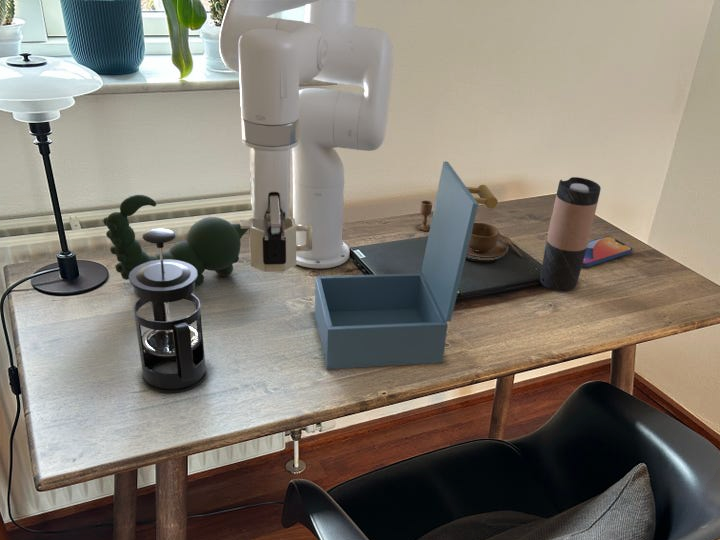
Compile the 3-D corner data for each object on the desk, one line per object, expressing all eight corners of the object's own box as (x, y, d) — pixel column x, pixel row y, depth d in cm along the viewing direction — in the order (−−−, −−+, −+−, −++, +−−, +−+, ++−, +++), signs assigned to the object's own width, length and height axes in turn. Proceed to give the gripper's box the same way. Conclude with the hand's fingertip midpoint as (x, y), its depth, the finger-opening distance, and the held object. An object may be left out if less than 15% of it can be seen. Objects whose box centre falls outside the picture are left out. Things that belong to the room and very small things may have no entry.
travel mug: (577, 295, 140) (602, 195, 129) (537, 288, 141) (558, 189, 130) (577, 276, 147) (601, 180, 135) (539, 270, 148) (559, 174, 136)
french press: (132, 364, 111) (110, 223, 98) (192, 348, 116) (179, 211, 103) (158, 407, 104) (138, 260, 91) (221, 388, 108) (211, 246, 95)
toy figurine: (136, 317, 125) (268, 273, 137) (110, 215, 113) (257, 177, 125) (117, 293, 131) (245, 252, 143) (91, 193, 120) (232, 158, 131)
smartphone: (558, 254, 155) (559, 249, 154) (607, 239, 162) (608, 235, 161) (583, 269, 150) (584, 264, 149) (633, 253, 157) (634, 249, 156)
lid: (473, 203, 103) (513, 206, 105) (443, 161, 116) (479, 164, 118) (445, 321, 114) (482, 322, 115) (421, 270, 127) (454, 272, 128)
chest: (326, 369, 114) (327, 329, 110) (314, 313, 127) (315, 276, 123) (442, 362, 118) (448, 324, 114) (419, 309, 131) (423, 273, 127)
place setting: (450, 268, 145) (454, 241, 142) (413, 226, 160) (415, 200, 157) (528, 260, 151) (533, 233, 148) (485, 220, 166) (489, 195, 163)
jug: (243, 272, 106) (241, 233, 103) (241, 252, 111) (239, 213, 108) (314, 270, 108) (314, 231, 105) (309, 250, 114) (309, 212, 110)
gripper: (239, 111, 105) (244, 227, 115) (244, 152, 91) (249, 280, 101) (292, 112, 107) (293, 226, 117) (305, 153, 93) (304, 279, 103)
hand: (272, 250), depth 109 cm, fingers closed on jug, 6 cm apart
